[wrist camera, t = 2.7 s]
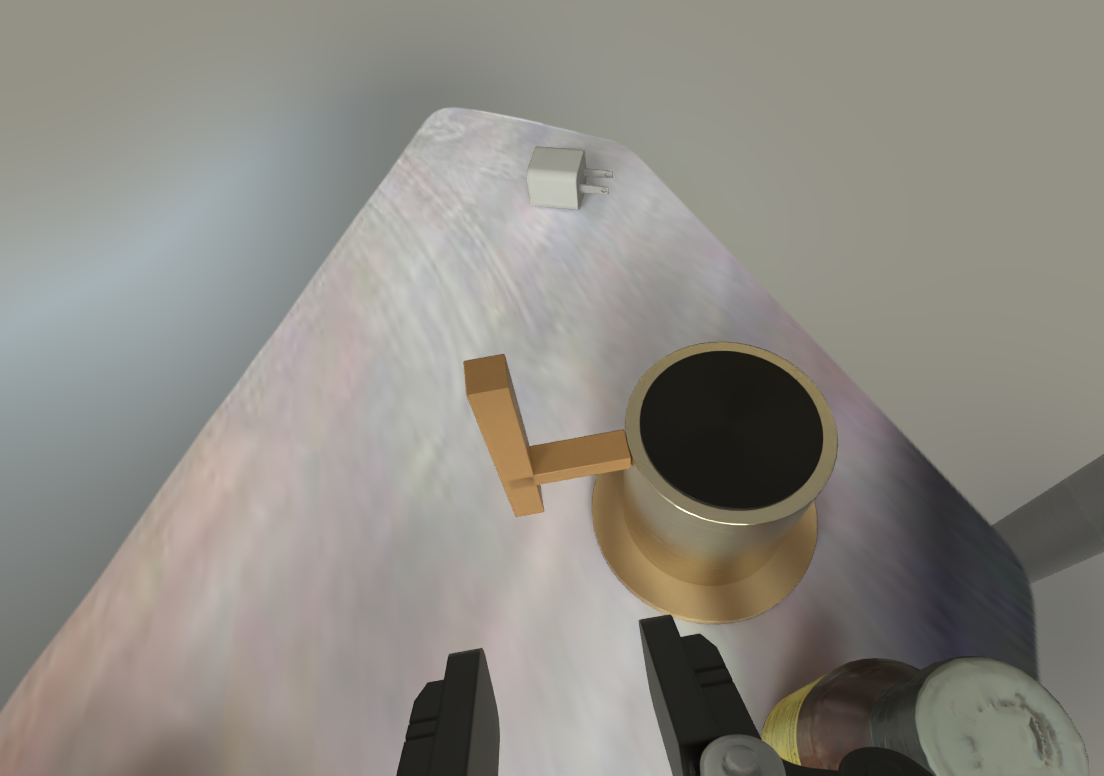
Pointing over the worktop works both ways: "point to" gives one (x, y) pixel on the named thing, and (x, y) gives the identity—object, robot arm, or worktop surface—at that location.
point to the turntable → (690, 598)
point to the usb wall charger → (561, 178)
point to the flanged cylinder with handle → (684, 455)
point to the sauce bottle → (930, 719)
